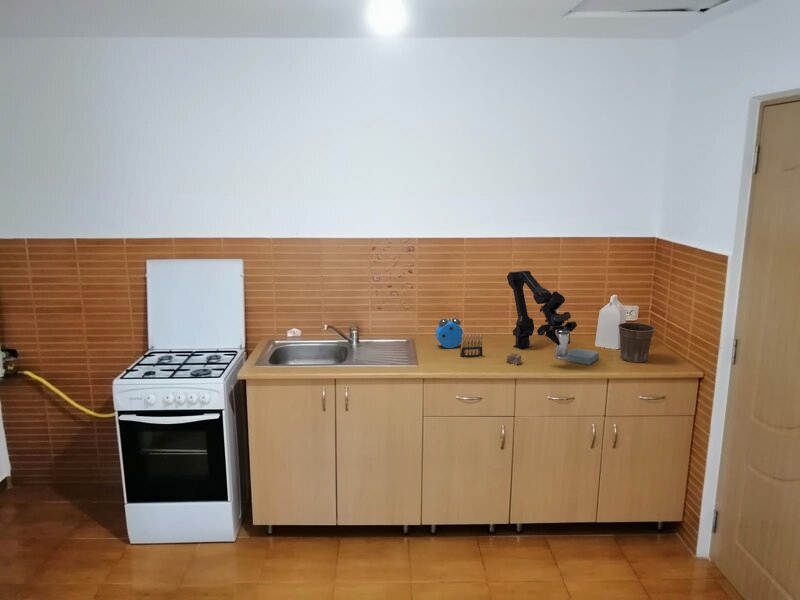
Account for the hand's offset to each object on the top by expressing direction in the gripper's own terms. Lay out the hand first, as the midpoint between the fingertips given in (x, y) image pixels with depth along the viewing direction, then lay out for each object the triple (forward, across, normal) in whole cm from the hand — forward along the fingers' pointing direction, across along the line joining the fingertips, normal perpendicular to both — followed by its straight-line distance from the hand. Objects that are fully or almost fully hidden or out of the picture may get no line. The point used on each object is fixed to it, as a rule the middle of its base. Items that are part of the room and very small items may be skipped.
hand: (564, 344), depth 274 cm
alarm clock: (-25, -34, +42) cm, 60 cm away
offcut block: (-2, -17, +18) cm, 25 cm away
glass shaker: (+4, 0, +6) cm, 7 cm away
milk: (-6, +44, +22) cm, 50 cm away
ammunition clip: (-13, -31, +29) cm, 45 cm away
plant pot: (+10, +39, +7) cm, 41 cm away
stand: (+3, +16, +13) cm, 21 cm away
